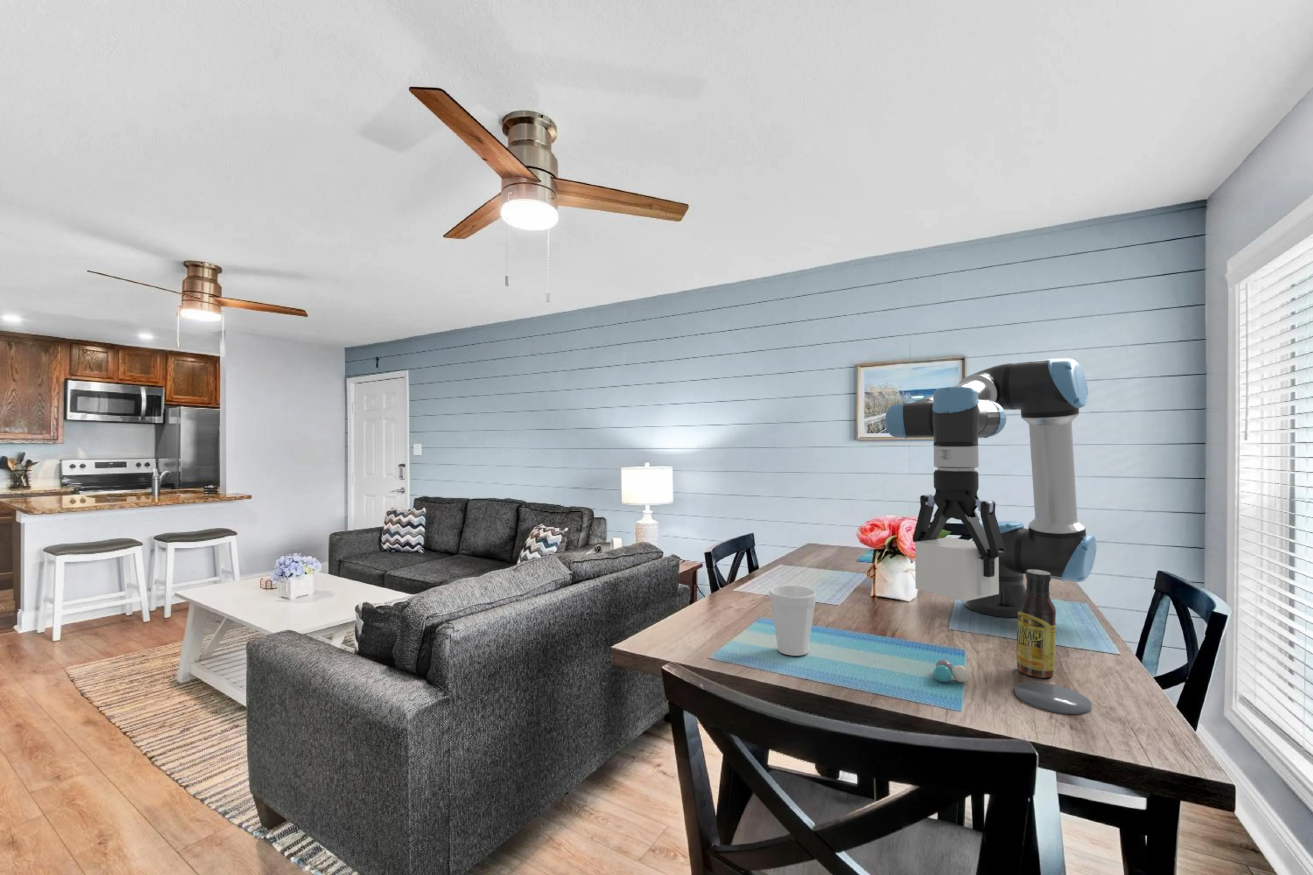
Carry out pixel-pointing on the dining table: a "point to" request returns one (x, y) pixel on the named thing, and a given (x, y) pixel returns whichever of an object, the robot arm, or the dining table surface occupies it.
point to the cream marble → (960, 673)
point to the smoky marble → (945, 664)
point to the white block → (950, 568)
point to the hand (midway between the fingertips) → (956, 587)
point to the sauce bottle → (1036, 627)
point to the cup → (792, 617)
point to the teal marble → (942, 673)
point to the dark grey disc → (1053, 698)
